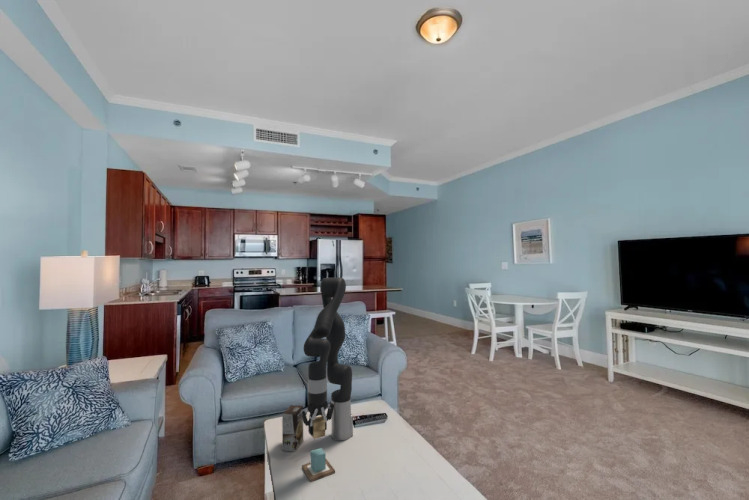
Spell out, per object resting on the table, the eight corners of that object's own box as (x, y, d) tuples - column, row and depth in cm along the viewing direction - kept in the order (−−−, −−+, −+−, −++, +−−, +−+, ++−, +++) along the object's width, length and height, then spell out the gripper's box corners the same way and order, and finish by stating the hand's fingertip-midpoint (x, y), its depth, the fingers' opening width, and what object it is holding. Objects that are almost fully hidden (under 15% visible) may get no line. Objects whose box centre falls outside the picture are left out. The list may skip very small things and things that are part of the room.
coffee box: (295, 452, 145) (295, 414, 145) (281, 450, 146) (281, 413, 147) (304, 440, 154) (303, 405, 154) (291, 439, 155) (290, 404, 156)
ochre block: (320, 431, 135) (320, 416, 136) (325, 435, 131) (325, 420, 132) (310, 434, 133) (310, 418, 133) (314, 439, 129) (314, 423, 129)
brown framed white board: (325, 460, 139) (325, 457, 139) (335, 473, 130) (335, 470, 130) (301, 468, 134) (301, 465, 134) (310, 482, 125) (310, 479, 125)
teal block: (321, 462, 135) (321, 447, 135) (325, 468, 131) (325, 453, 131) (310, 466, 133) (310, 451, 133) (314, 472, 129) (314, 456, 129)
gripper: (303, 396, 126) (303, 442, 125) (337, 388, 133) (338, 432, 133) (297, 389, 133) (297, 433, 132) (330, 382, 140) (330, 424, 139)
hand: (317, 432), depth 132 cm, fingers closed on ochre block, 4 cm apart
